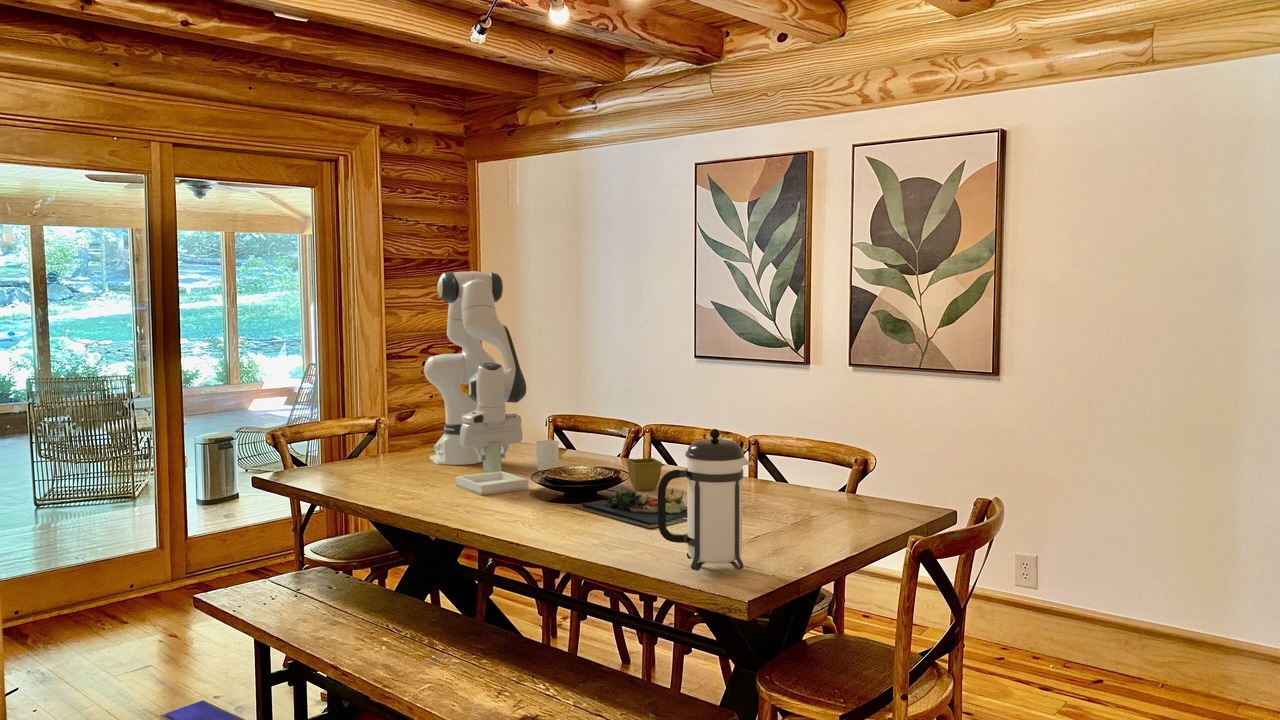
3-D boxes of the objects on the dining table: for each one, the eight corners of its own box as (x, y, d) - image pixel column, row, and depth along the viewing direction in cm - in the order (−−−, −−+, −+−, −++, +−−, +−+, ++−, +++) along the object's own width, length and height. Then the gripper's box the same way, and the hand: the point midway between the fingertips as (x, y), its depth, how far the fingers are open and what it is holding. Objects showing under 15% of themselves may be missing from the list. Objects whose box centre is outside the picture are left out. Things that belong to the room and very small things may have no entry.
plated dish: (724, 514, 261) (725, 487, 260) (651, 530, 242) (651, 502, 241) (639, 495, 286) (639, 471, 286) (566, 508, 267) (566, 483, 267)
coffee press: (709, 550, 219) (709, 422, 217) (762, 564, 207) (763, 428, 205) (655, 564, 207) (655, 429, 205) (709, 580, 195) (709, 436, 194)
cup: (480, 469, 293) (479, 441, 293) (496, 468, 297) (495, 439, 296) (488, 472, 289) (487, 443, 288) (504, 470, 292) (504, 441, 292)
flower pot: (626, 487, 293) (626, 459, 293) (653, 485, 296) (653, 457, 295) (635, 493, 285) (635, 463, 284) (662, 491, 288) (662, 462, 287)
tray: (456, 486, 296) (456, 476, 296) (501, 480, 305) (501, 471, 305) (481, 495, 281) (481, 485, 281) (528, 489, 291) (528, 479, 290)
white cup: (557, 472, 319) (557, 443, 319) (534, 472, 319) (534, 443, 319) (560, 468, 327) (559, 440, 326) (537, 468, 327) (537, 440, 327)
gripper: (516, 412, 301) (516, 455, 301) (456, 416, 289) (457, 461, 289) (525, 414, 295) (526, 457, 296) (465, 418, 284) (466, 464, 284)
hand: (491, 459), depth 293 cm, fingers closed on cup, 6 cm apart
